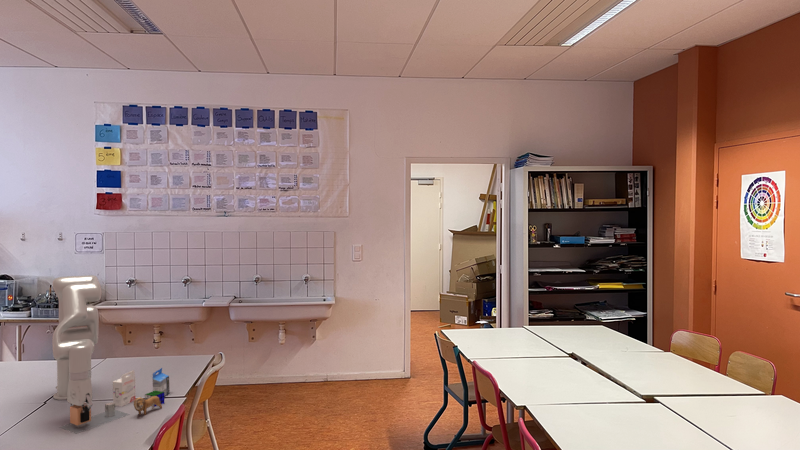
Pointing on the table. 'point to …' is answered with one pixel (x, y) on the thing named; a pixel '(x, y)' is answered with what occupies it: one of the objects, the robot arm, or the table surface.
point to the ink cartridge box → (124, 389)
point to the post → (109, 409)
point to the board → (94, 422)
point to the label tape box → (161, 382)
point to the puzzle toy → (156, 393)
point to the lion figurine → (146, 403)
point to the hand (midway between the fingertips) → (80, 419)
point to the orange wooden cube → (77, 414)
